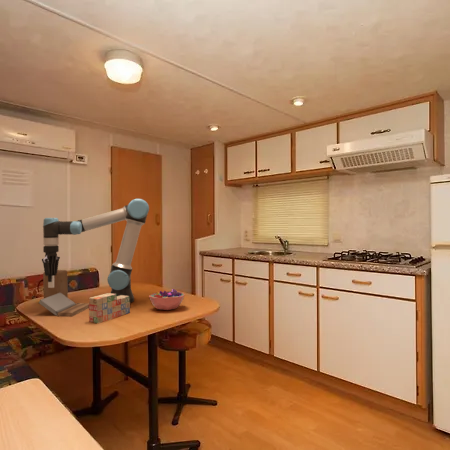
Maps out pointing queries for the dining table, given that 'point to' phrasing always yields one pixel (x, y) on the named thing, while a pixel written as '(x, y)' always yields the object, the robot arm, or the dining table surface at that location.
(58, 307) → the plank
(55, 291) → the wooden block
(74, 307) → the board
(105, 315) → the stack of blocks
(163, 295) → the cell model
